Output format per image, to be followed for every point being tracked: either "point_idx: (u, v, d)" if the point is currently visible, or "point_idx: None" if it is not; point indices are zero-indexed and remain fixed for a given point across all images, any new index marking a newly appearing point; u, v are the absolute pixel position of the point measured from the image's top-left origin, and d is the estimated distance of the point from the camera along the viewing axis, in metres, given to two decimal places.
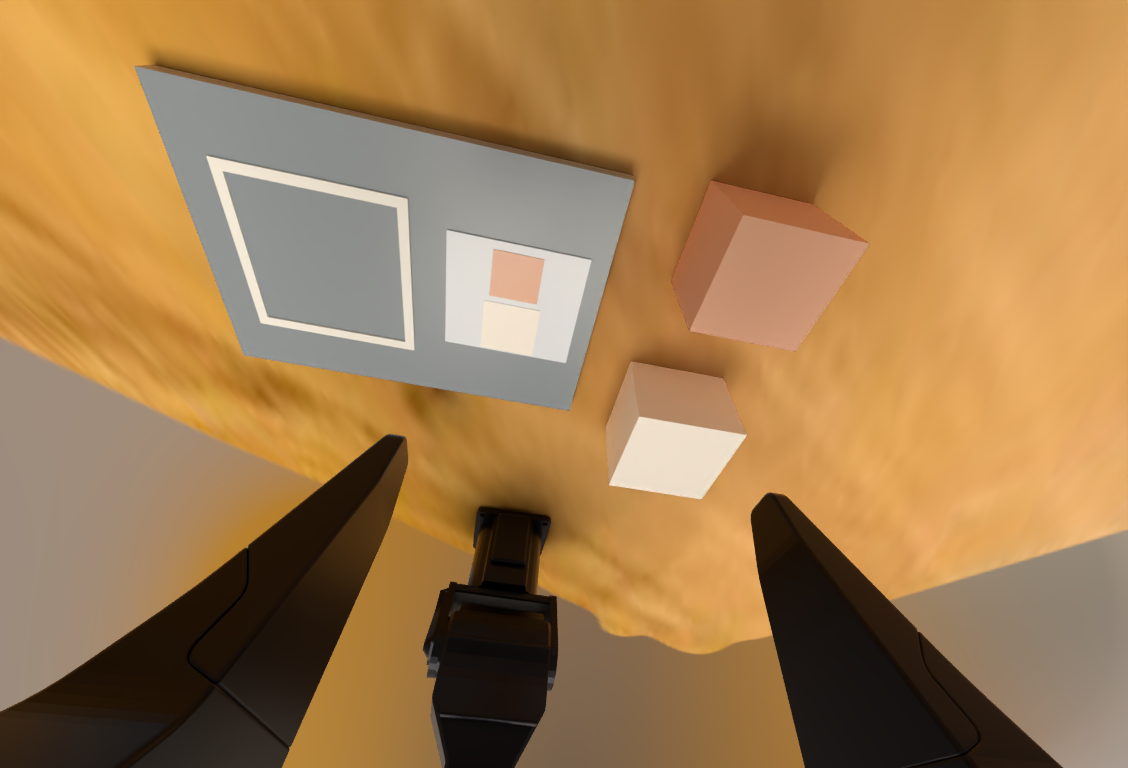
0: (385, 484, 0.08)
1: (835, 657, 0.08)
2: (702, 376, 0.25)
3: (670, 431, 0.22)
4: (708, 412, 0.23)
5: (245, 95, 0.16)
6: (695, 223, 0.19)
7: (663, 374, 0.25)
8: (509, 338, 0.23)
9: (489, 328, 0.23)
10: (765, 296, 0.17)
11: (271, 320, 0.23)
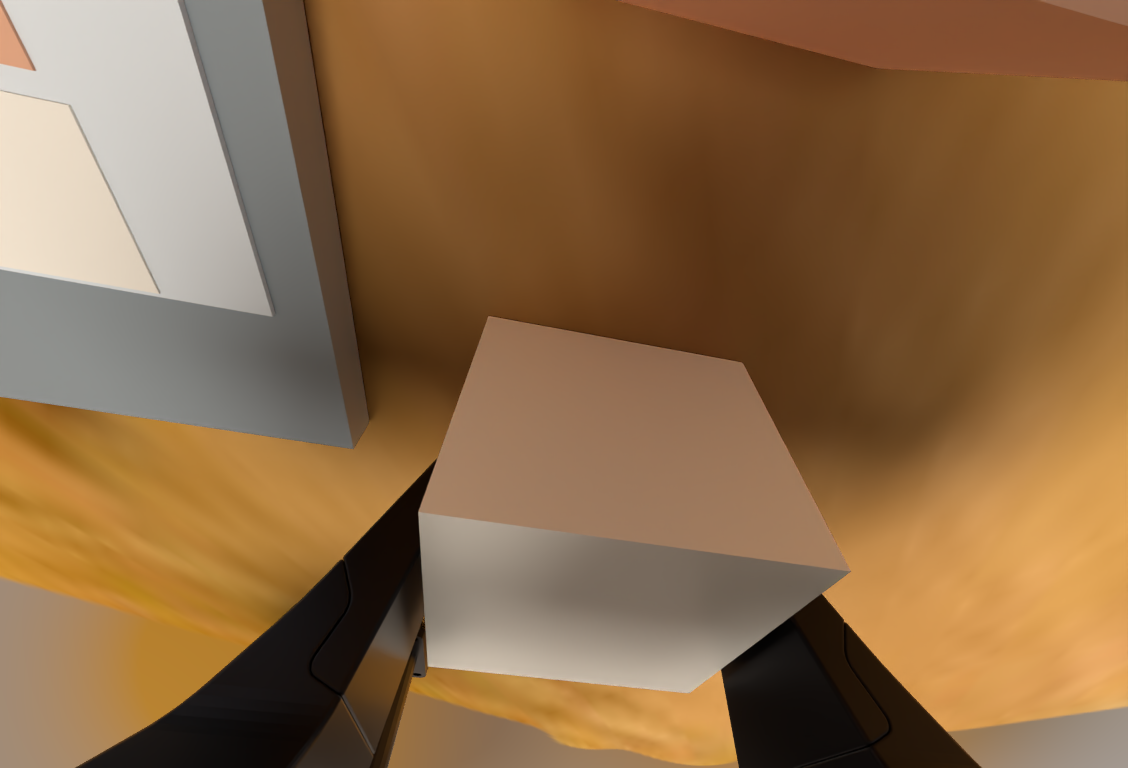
0: None
1: (764, 649, 0.08)
2: (688, 360, 0.09)
3: (561, 558, 0.06)
4: (703, 477, 0.07)
5: None
6: None
7: (575, 353, 0.09)
8: (46, 230, 0.07)
9: None
10: None
11: None
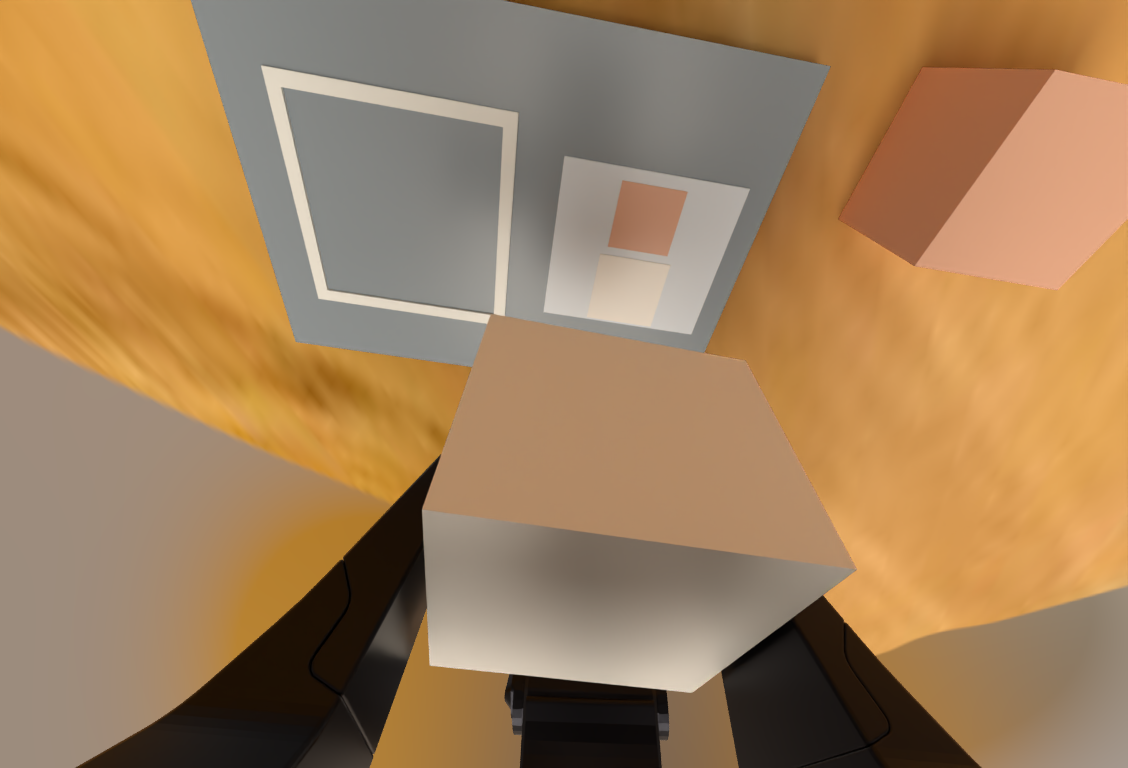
0: None
1: (764, 649, 0.08)
2: (691, 358, 0.09)
3: (565, 557, 0.06)
4: (707, 475, 0.07)
5: None
6: (890, 132, 0.15)
7: (578, 351, 0.09)
8: (625, 304, 0.18)
9: (602, 291, 0.18)
10: (1042, 205, 0.12)
11: (331, 294, 0.19)
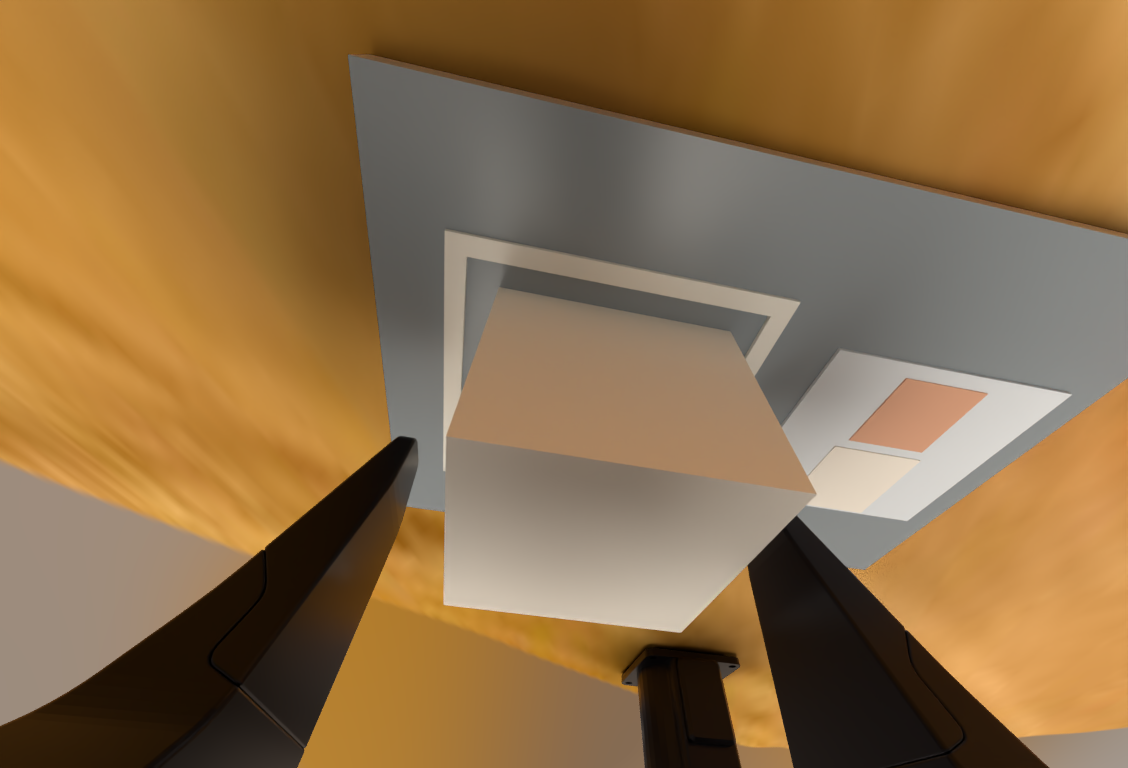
0: (397, 486, 0.08)
1: (823, 656, 0.08)
2: (680, 328, 0.10)
3: (567, 484, 0.07)
4: (691, 420, 0.07)
5: (567, 115, 0.08)
6: None
7: (578, 320, 0.09)
8: (840, 492, 0.14)
9: (817, 480, 0.14)
10: None
11: None
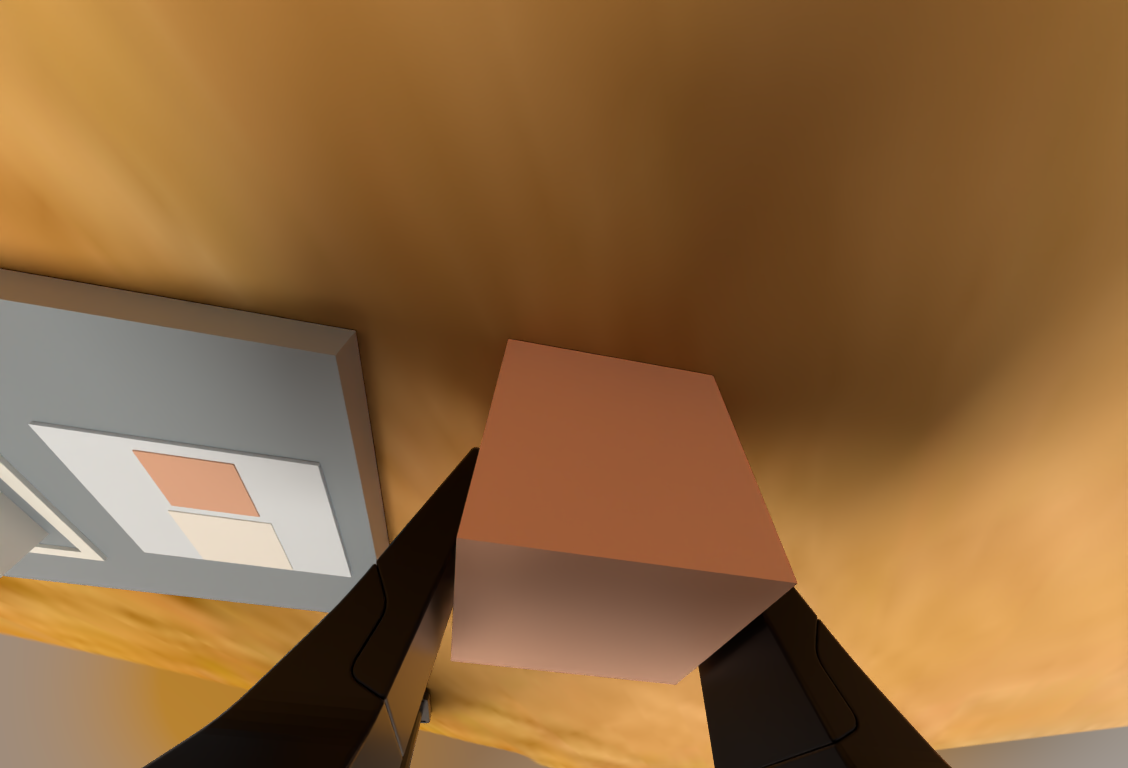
0: None
1: (738, 646, 0.08)
2: None
3: None
4: None
5: None
6: None
7: None
8: (242, 552, 0.14)
9: (203, 540, 0.14)
10: (581, 634, 0.08)
11: None
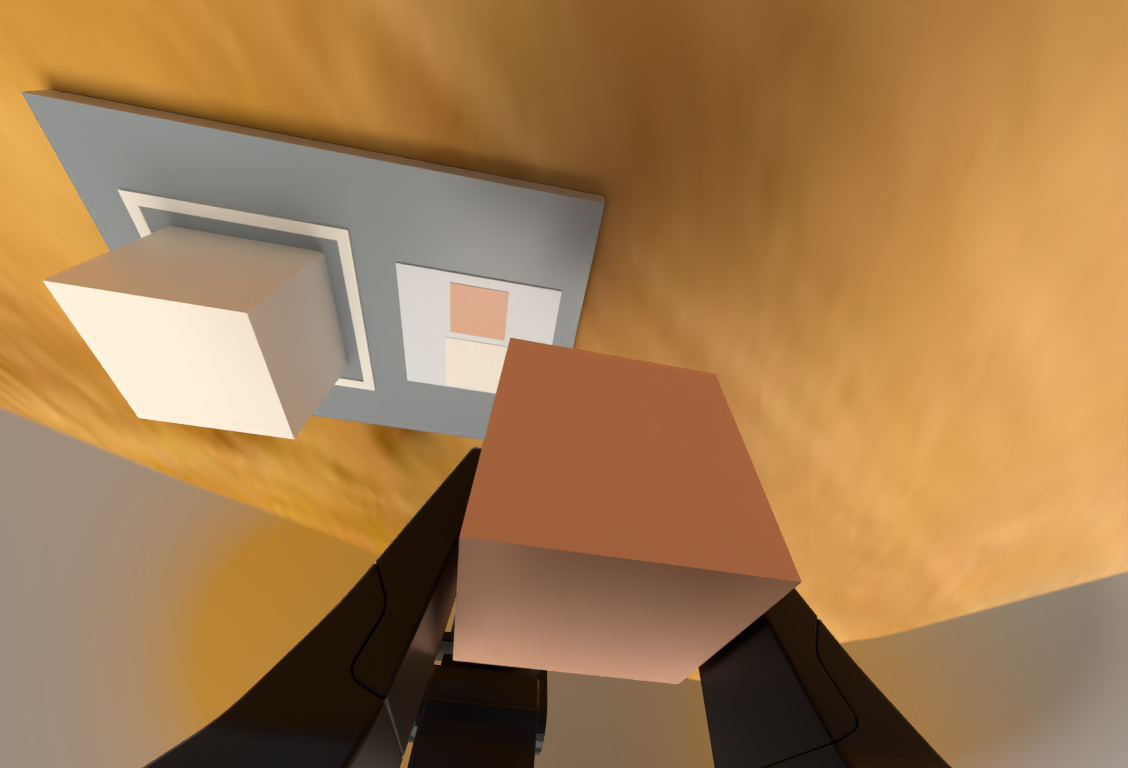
0: None
1: (739, 647, 0.08)
2: (283, 249, 0.16)
3: (123, 310, 0.13)
4: (213, 284, 0.14)
5: (151, 121, 0.14)
6: None
7: (206, 242, 0.16)
8: (477, 376, 0.21)
9: (454, 366, 0.20)
10: (583, 633, 0.07)
11: None
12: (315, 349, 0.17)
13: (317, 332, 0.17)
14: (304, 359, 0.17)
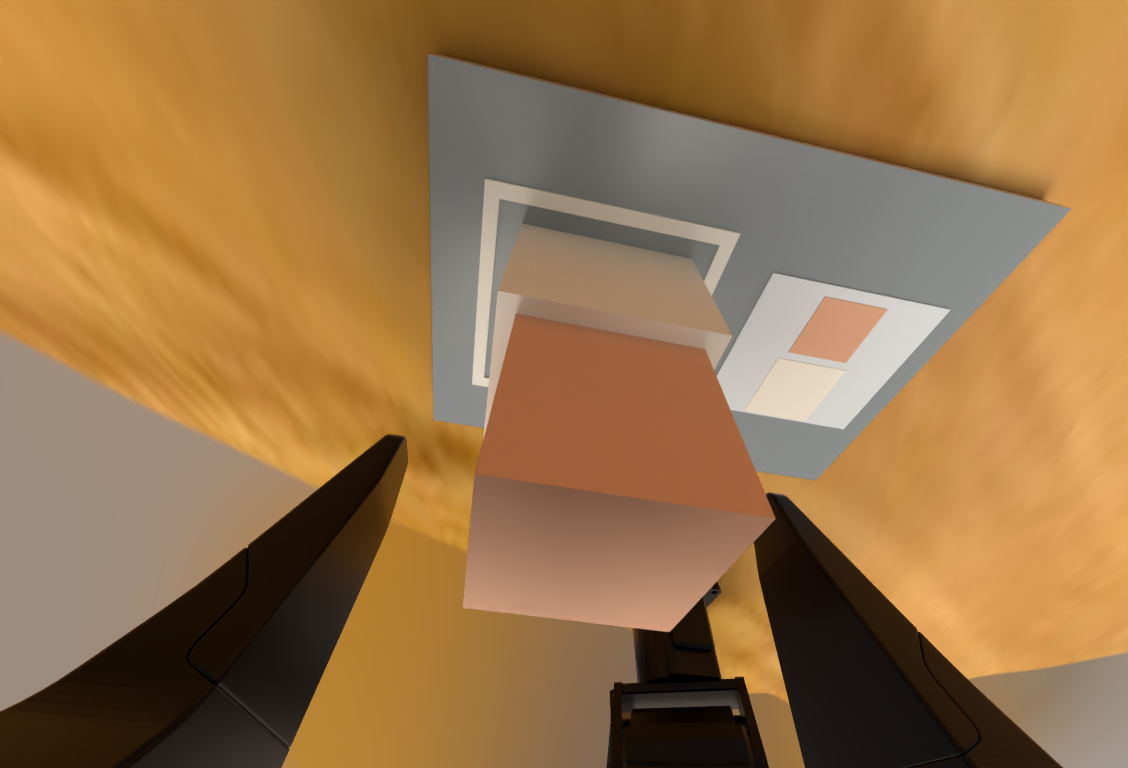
0: (385, 484, 0.08)
1: (835, 657, 0.08)
2: (654, 254, 0.14)
3: None
4: (654, 298, 0.11)
5: (572, 95, 0.11)
6: None
7: (579, 244, 0.13)
8: (787, 401, 0.18)
9: (767, 390, 0.18)
10: (583, 576, 0.08)
11: (486, 381, 0.18)
12: None
13: None
14: None
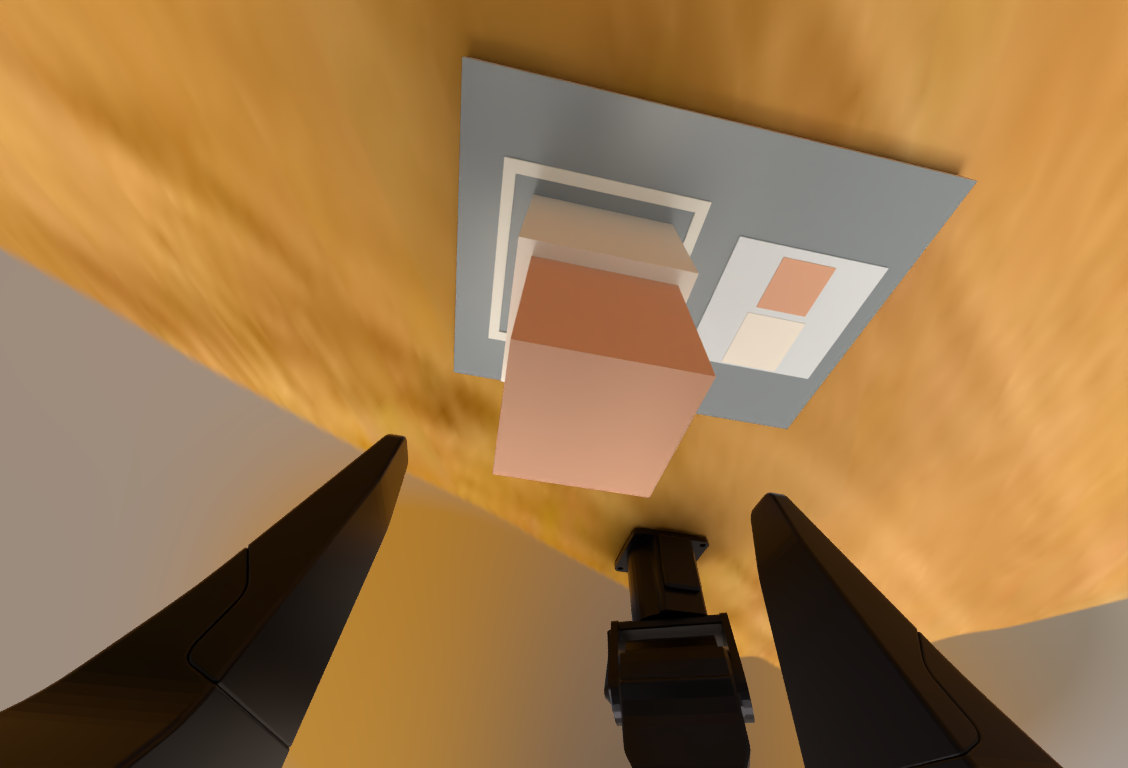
0: (385, 484, 0.08)
1: (836, 658, 0.08)
2: (641, 220, 0.17)
3: None
4: (639, 247, 0.14)
5: (575, 89, 0.15)
6: None
7: (580, 210, 0.16)
8: (757, 353, 0.21)
9: (740, 342, 0.21)
10: (583, 437, 0.11)
11: (500, 335, 0.21)
12: None
13: None
14: None
